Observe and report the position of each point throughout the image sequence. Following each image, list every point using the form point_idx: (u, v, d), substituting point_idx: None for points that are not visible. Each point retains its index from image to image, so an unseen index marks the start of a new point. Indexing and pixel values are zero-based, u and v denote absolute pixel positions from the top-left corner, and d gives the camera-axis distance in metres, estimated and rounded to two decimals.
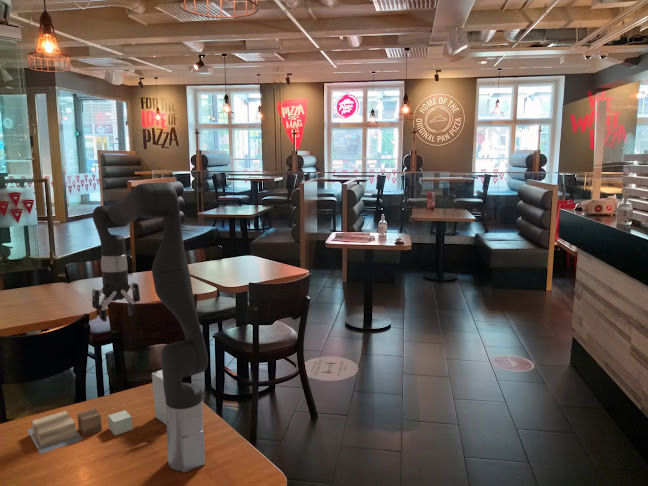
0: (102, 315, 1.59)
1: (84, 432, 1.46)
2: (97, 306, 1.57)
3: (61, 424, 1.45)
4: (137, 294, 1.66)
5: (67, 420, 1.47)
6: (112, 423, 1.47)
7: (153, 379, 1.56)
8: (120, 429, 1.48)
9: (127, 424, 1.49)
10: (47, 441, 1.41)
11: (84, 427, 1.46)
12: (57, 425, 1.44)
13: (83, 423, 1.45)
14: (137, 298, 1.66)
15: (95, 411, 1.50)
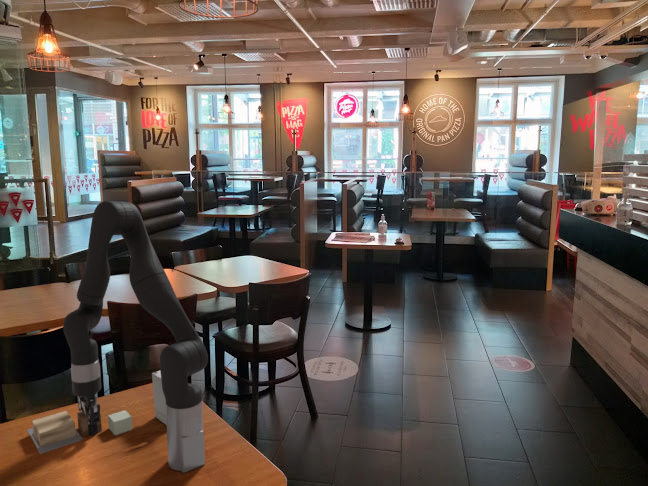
0: None
1: (84, 432, 1.46)
2: None
3: (61, 424, 1.45)
4: None
5: (67, 420, 1.47)
6: (112, 423, 1.47)
7: (153, 379, 1.56)
8: (120, 429, 1.48)
9: (127, 424, 1.49)
10: (47, 441, 1.41)
11: (84, 427, 1.46)
12: (57, 425, 1.44)
13: (83, 423, 1.45)
14: None
15: None
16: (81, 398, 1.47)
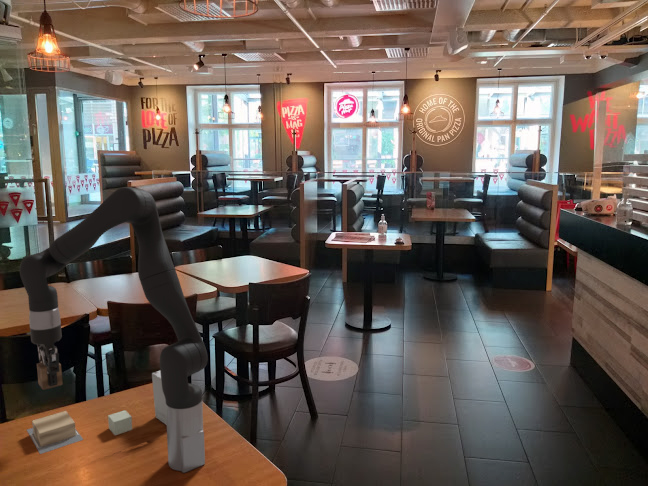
0: None
1: (43, 382, 1.41)
2: None
3: (61, 424, 1.45)
4: None
5: (67, 420, 1.47)
6: (112, 423, 1.47)
7: (153, 379, 1.56)
8: (120, 429, 1.48)
9: (127, 424, 1.49)
10: (47, 441, 1.41)
11: (43, 377, 1.40)
12: (57, 425, 1.44)
13: (42, 373, 1.40)
14: None
15: None
16: (40, 347, 1.42)
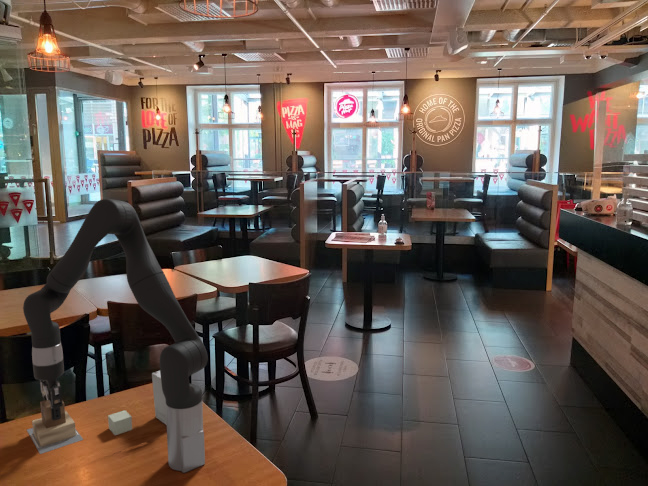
0: None
1: (47, 421, 1.42)
2: None
3: (61, 424, 1.45)
4: None
5: (67, 420, 1.47)
6: (112, 423, 1.47)
7: (153, 379, 1.56)
8: (120, 429, 1.48)
9: (127, 424, 1.49)
10: (47, 441, 1.41)
11: (46, 416, 1.42)
12: (57, 425, 1.44)
13: (45, 411, 1.42)
14: None
15: None
16: (43, 383, 1.44)
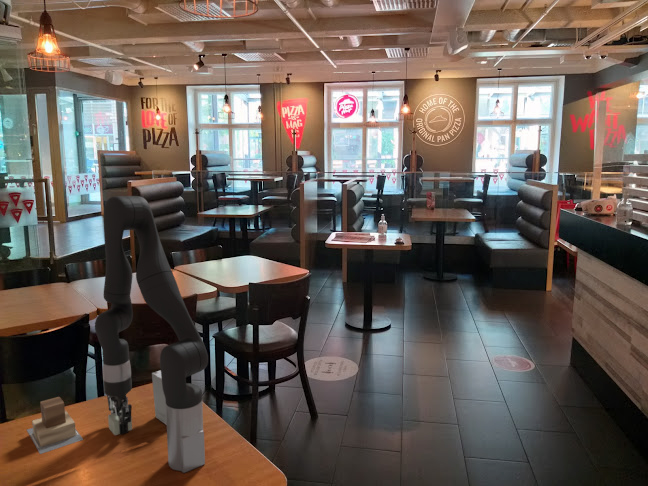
0: None
1: (47, 421, 1.42)
2: None
3: (61, 424, 1.45)
4: None
5: (67, 420, 1.47)
6: (112, 423, 1.47)
7: (153, 379, 1.56)
8: None
9: None
10: (47, 441, 1.41)
11: (46, 416, 1.42)
12: (57, 425, 1.44)
13: (45, 411, 1.42)
14: None
15: (59, 399, 1.46)
16: (112, 398, 1.48)
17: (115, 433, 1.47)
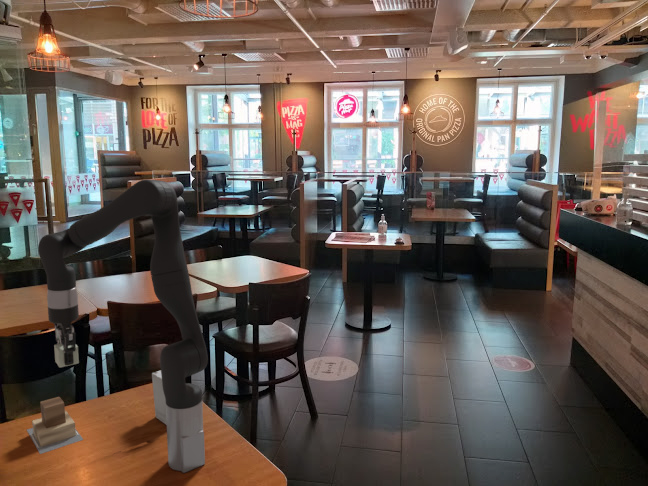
0: None
1: (47, 421, 1.42)
2: None
3: (61, 424, 1.45)
4: None
5: (67, 420, 1.47)
6: (57, 352, 1.42)
7: (153, 379, 1.56)
8: None
9: (73, 354, 1.43)
10: (47, 441, 1.41)
11: (46, 416, 1.42)
12: (57, 425, 1.44)
13: (45, 411, 1.42)
14: None
15: (59, 399, 1.46)
16: (57, 327, 1.43)
17: (60, 362, 1.42)
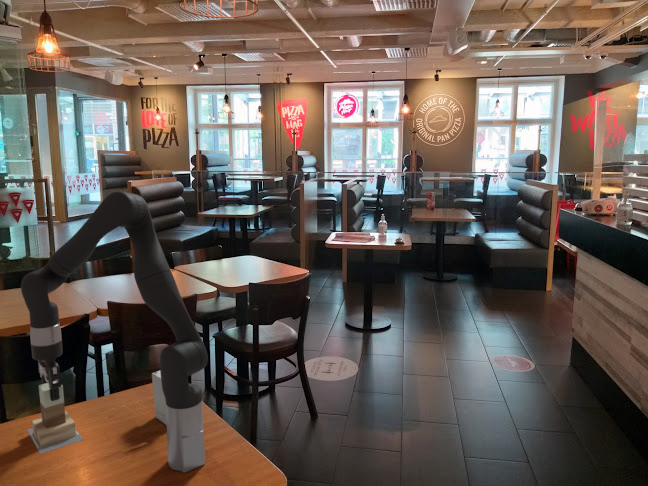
0: None
1: (46, 421, 1.42)
2: None
3: (61, 424, 1.45)
4: None
5: (67, 420, 1.47)
6: (42, 393, 1.42)
7: (153, 379, 1.56)
8: None
9: None
10: (47, 441, 1.41)
11: (46, 416, 1.42)
12: (57, 425, 1.44)
13: (45, 411, 1.42)
14: None
15: None
16: (41, 364, 1.43)
17: (45, 403, 1.42)
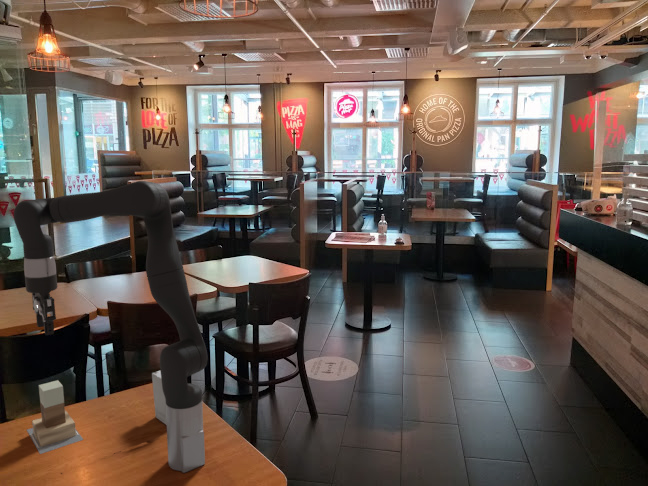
0: None
1: (46, 421, 1.42)
2: None
3: (61, 424, 1.45)
4: None
5: (67, 420, 1.47)
6: (42, 393, 1.42)
7: (153, 379, 1.56)
8: (50, 399, 1.42)
9: (58, 394, 1.44)
10: (47, 441, 1.41)
11: (46, 416, 1.42)
12: (57, 425, 1.44)
13: (45, 411, 1.42)
14: None
15: None
16: (36, 298, 1.39)
17: (45, 403, 1.42)
